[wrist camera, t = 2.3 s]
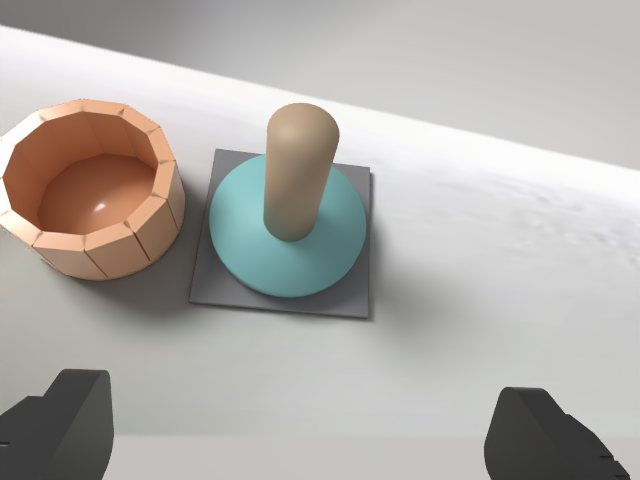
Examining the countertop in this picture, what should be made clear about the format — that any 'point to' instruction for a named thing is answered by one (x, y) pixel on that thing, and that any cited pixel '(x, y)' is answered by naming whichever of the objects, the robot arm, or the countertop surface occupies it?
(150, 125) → the bowl
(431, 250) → the countertop surface
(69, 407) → the robot arm
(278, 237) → the lid
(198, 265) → the mat
